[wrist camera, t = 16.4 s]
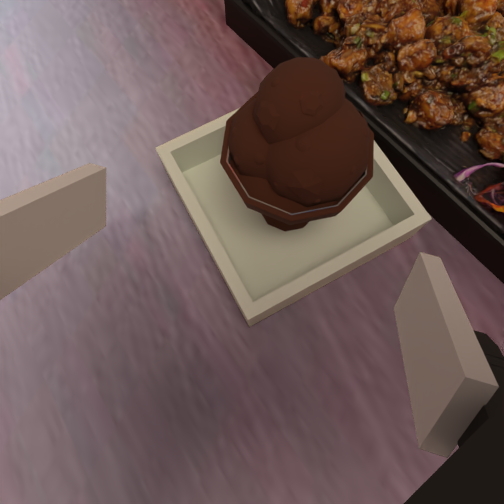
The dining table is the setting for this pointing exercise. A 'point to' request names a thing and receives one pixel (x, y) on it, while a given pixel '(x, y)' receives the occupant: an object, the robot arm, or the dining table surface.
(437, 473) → the robot arm
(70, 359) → the dining table surface
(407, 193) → the bin
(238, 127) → the ice cream bowl
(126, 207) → the dining table surface
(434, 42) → the food platter
